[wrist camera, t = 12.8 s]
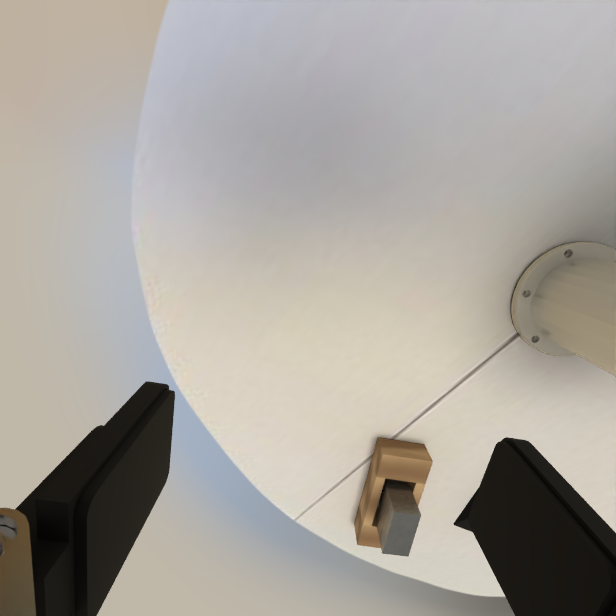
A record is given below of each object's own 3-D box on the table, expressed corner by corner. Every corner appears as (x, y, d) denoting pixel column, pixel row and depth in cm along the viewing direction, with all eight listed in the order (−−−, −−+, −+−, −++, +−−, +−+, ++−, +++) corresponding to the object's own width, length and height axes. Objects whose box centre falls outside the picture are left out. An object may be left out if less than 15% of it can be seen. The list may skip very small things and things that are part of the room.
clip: (381, 465, 44) (394, 511, 37) (403, 468, 44) (420, 515, 37) (371, 502, 46) (382, 553, 39) (393, 505, 46) (408, 556, 39)
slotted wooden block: (377, 437, 43) (382, 454, 40) (424, 444, 43) (432, 461, 40) (354, 524, 47) (357, 544, 44) (397, 530, 47) (402, 551, 44)
